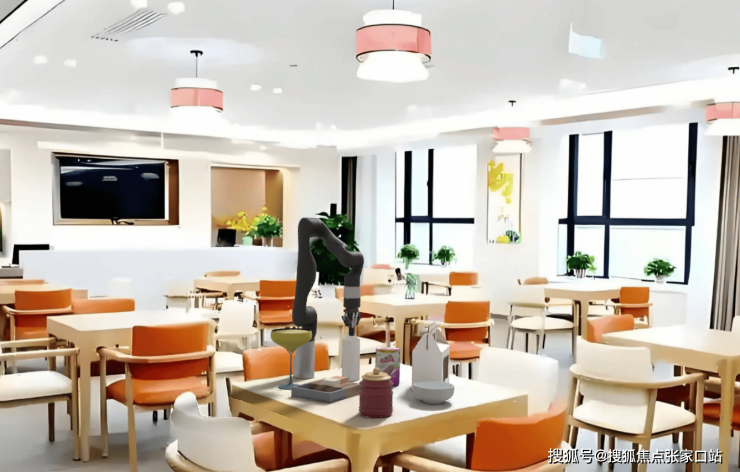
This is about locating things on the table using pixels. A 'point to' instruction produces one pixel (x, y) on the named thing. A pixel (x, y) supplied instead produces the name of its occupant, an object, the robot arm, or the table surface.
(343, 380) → the terracotta tile
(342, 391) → the box
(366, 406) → the canister
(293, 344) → the cocktail glass
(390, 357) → the candy bar box
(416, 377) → the gable box
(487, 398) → the table surface
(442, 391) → the cereal bowl
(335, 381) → the cream tile
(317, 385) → the brown wooden board
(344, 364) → the milk
